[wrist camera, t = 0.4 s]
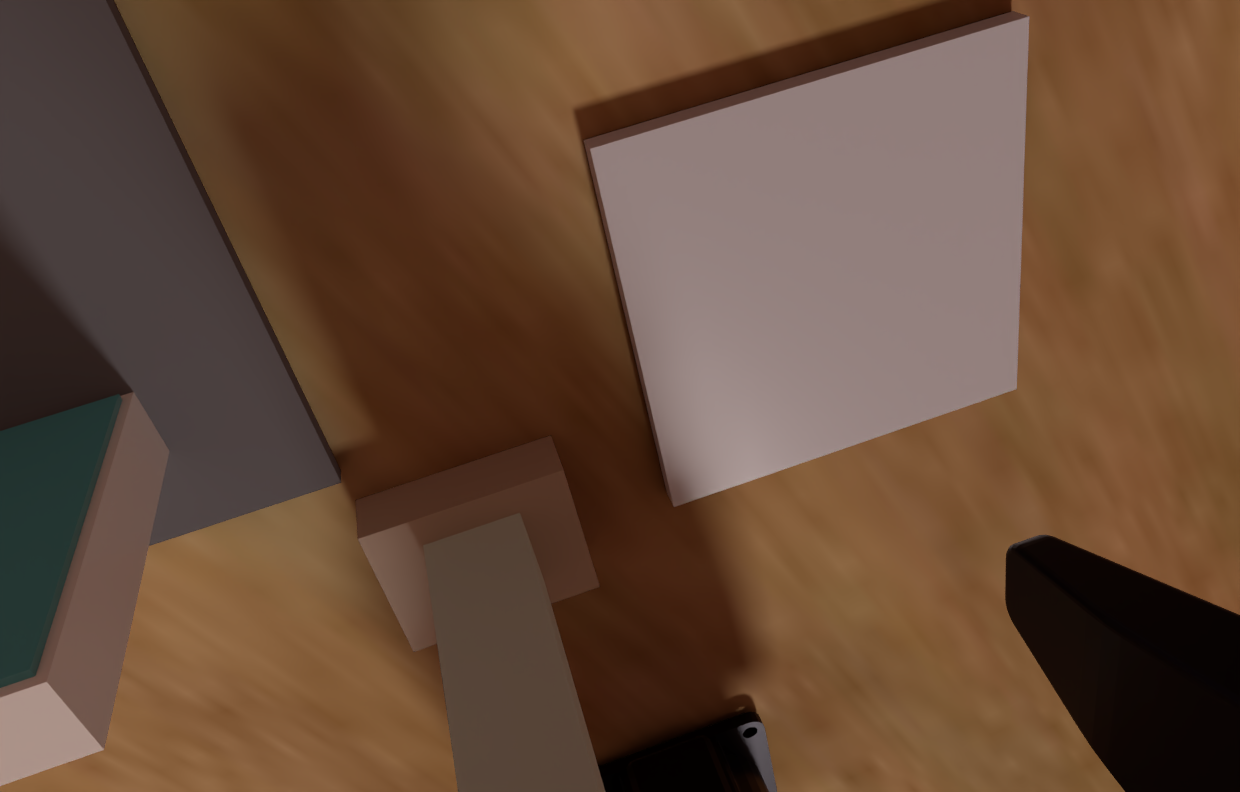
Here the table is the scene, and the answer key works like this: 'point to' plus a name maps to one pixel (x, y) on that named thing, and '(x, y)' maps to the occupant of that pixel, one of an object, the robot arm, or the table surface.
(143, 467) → the tile
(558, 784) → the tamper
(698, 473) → the pad
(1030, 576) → the robot arm
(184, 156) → the mat
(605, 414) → the table surface
